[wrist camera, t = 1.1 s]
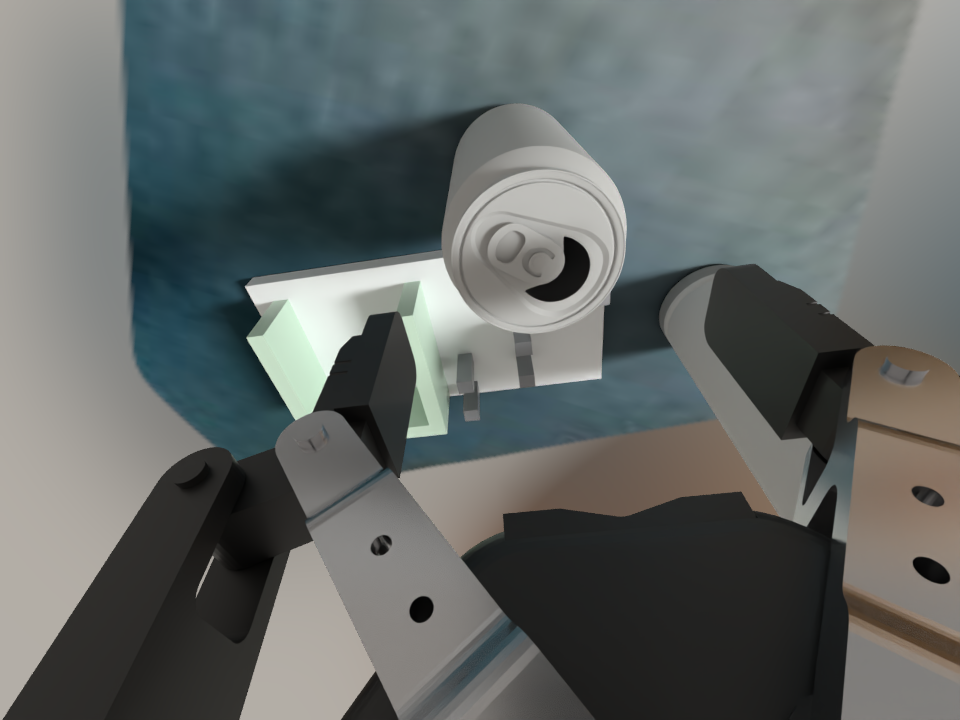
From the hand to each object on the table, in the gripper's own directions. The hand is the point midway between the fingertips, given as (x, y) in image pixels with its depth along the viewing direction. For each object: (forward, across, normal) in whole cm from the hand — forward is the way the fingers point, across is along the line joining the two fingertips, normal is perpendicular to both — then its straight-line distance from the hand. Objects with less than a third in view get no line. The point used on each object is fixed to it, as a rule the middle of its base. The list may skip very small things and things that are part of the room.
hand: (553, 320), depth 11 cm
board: (+15, +6, +9) cm, 19 cm away
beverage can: (+15, 0, 0) cm, 15 cm away
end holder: (+14, +11, +10) cm, 20 cm away
